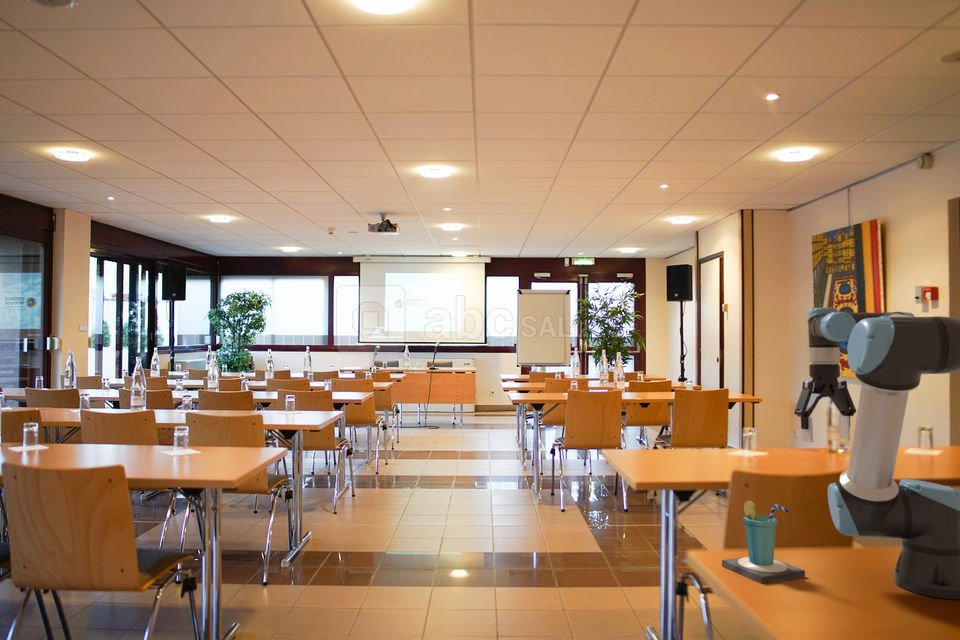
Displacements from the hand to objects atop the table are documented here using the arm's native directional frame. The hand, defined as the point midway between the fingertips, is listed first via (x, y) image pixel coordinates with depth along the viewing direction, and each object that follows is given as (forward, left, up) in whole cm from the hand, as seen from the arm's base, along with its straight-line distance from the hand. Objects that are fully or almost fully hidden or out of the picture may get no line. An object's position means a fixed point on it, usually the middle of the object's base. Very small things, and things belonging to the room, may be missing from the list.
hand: (826, 440), depth 179 cm
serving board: (-10, +33, -29) cm, 45 cm away
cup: (-10, +32, -27) cm, 43 cm away
